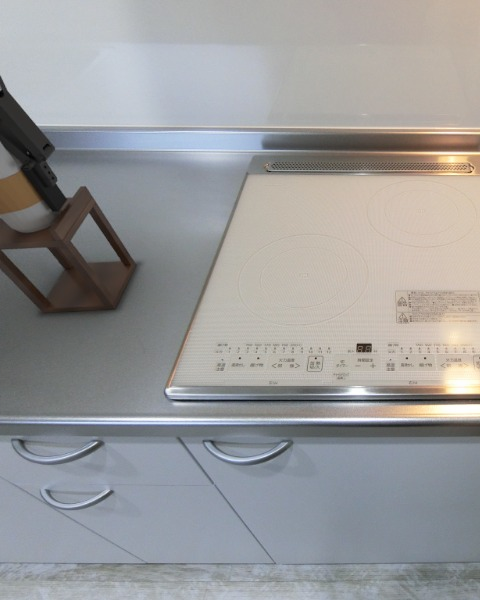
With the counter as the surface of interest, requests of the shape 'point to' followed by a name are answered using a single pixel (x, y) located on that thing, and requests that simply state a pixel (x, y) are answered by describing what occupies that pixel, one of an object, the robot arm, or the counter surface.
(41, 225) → the coffee cup
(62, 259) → the shelf
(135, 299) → the counter surface
